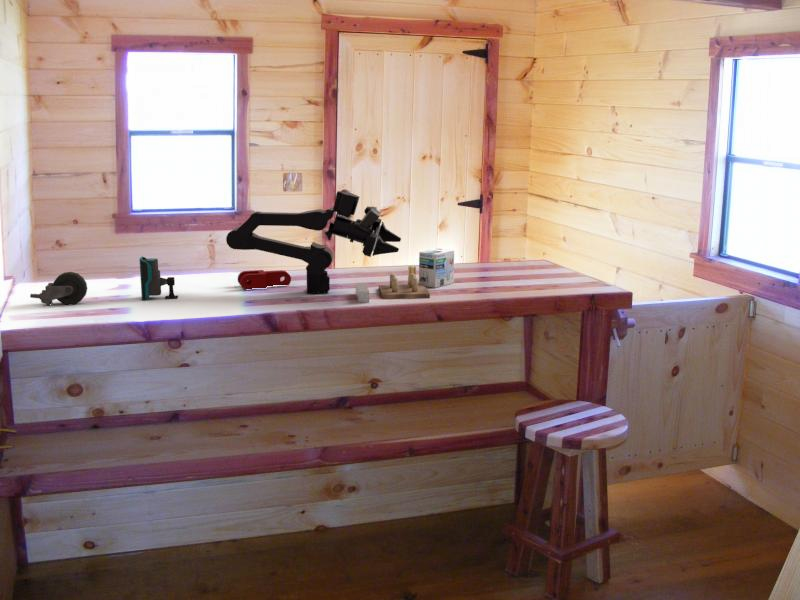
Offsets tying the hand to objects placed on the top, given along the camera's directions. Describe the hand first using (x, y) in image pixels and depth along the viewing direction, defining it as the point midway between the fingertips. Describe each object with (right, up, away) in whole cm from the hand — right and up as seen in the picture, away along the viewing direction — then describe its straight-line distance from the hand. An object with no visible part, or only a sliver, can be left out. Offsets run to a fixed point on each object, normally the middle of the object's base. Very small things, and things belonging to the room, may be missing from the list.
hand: (399, 245), depth 273 cm
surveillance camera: (-70, -16, -7) cm, 72 cm away
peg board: (+1, -14, +2) cm, 15 cm away
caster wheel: (-96, -18, -15) cm, 99 cm away
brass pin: (+4, -12, +14) cm, 19 cm away
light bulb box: (+12, -12, +16) cm, 23 cm away
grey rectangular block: (-11, -16, -5) cm, 20 cm away
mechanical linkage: (-42, -13, +10) cm, 45 cm away
